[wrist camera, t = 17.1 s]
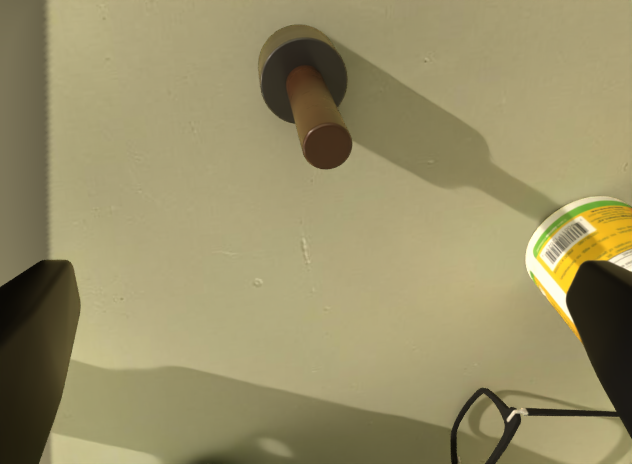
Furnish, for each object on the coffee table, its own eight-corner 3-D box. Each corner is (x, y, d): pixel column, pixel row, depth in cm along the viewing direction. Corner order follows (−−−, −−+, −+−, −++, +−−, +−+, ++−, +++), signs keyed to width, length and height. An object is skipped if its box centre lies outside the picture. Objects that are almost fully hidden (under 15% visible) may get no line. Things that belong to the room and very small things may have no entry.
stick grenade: (241, 62, 17) (242, 144, 11) (302, 5, 16) (337, 61, 11) (294, 120, 19) (319, 219, 13) (353, 70, 18) (408, 150, 12)
